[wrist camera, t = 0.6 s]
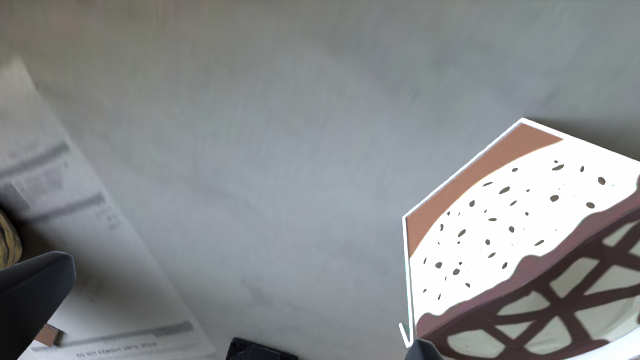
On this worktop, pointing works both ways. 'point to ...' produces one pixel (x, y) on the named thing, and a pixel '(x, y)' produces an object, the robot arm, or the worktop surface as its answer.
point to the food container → (528, 253)
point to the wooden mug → (8, 242)
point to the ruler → (47, 335)
